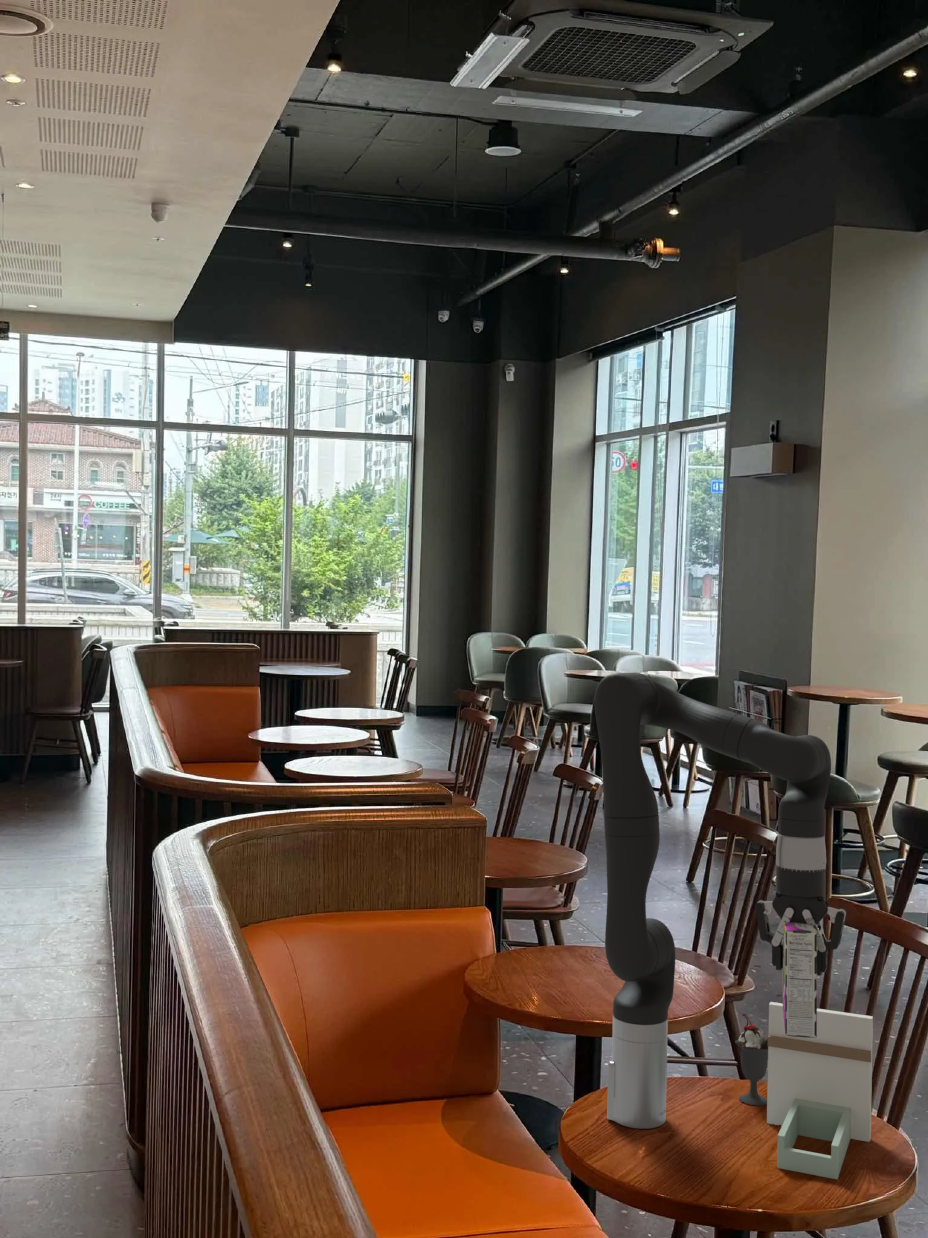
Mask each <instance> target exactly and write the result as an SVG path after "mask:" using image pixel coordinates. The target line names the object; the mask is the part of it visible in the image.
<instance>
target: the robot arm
mask: <svg viewBox="0 0 928 1238" xmlns="http://www.w3.org/2000/svg"><path fill="white" fill-rule="evenodd" d="M593 701H594V702H593V703H594V714H595V720H596V721H595V722H596V726H597V734H598V740H599V747H600V756H601V757H600V758H601V773H602V774H601V775H602V789H603V792H602V794H603V821H604V823H603V825H604V827H603V828H604V841H605V854H606V855H605V856H606V857H605V858H606V889H607V890H606V892H607V895H606V897H607V898H606V915H605V916H606V918H605V934H604V935H605V937H604V949H605V957H606V960H607V961H606V962H607V963H608V967H609V968H610V969H611V972H612V973H613V974H614V976H616V977H617V978H619V979H620V980H621V981H624V984H622V987H621V988H620V990H619V991H618V992H617V994H616V995H615V997H614V999H613V1001H612V1034H611V1035H612V1038H611V1040H612V1042H611V1043H612V1046H611V1047H612V1048H611V1059H610V1060H609V1061H608V1065H607V1097H606V1098H607V1102H606V1104H607V1105H606V1108H607V1109H606V1112H607V1113H606V1119H607V1120H609V1121H613V1122H615V1123H616V1124H619V1125H621V1126H624V1127H627V1128H631V1129H632V1128H633V1129H640V1130H641V1129H654V1128H658V1127H661V1126H663V1125H664V1124H665V1123H666V1121H667V1118H666V1117H667V1086H668V1085H667V1082H668V1081H667V1079H668V1077H667V1076H668V1073H667V1072H668V1070H667V1069H668V1024H669V1008H670V1006H671V1003H672V1000H673V997H674V990H675V988H674V987H675V973H676V946H675V940H674V937H673V934H672V933H671V931H670V929H669V928H668V926H667V925H666V924H665V923H664V922H662V921H661V920H659V919H657V918H652V917H651V918H650V917H647V911H646V909H647V905H646V902H647V892H648V886H649V882H650V880H651V876H652V873H653V870H654V868H655V864H656V862H657V861H656V860H657V858H658V853H659V848H660V841H661V840H660V838H661V837H660V836H661V835H660V817H659V816H660V815H659V805H658V799H657V797H656V793H655V791H654V787H653V785H652V783H651V780H650V778H649V775H648V774H647V771H646V768H645V765H644V761H643V757H642V752H641V748H642V747H641V726H642V725H643V726H644V725H645V726H651V727H657V728H663V729H668V730H672V731H675V732H677V733H680V734H682V735H684V736H687V737H689V738H690V739H691V740H693V741H695V742H696V743H698V744H699V745H701V746H704V747H705V748H707V749H710V751H714V752H717V753H718V754H722V755H724V756H728V757H730V758H732V759H736V760H737V761H738V760H739V761H741V762H744V763H748V764H751V765H753V766H755V767H756V768H758V769H759V770H762V771H764V772H766V773H768V774H769V775H772V776H774V777H776V778H778V779H781V780H783V781H786V791H785V794H784V796H783V797H782V798H781V800H780V801H779V804H778V805H779V806H778V812H777V813H778V817H777V825H778V826H777V832H778V833H777V842H776V849H775V850H776V851H775V855H776V856H775V896H774V898H773V900H764V899H760V900H759V901H757V902H756V903H755V905H754V906H755V907H754V908H755V915H756V920H757V927H758V933H759V938H760V940H761V941H763V942H767V943H769V944H770V945H771V964H772V966H773V967H775V970H776V971H783V935H784V924H785V923H789V922H793V923H803V924H807V925H810V926H815V927H816V930H817V977H818V976H822V975H823V974H824V973H826V971H827V968H828V951H830V950H831V951H832V950H837V949H838V948H839V946H840V945H841V941H842V937H843V931H844V926H845V921H846V917H847V910H846V909H845V908H840V909H838V908H835V907H831V906H829V904H828V902H827V899H826V880H827V879H826V877H827V876H826V875H827V874H826V871H827V870H826V869H827V849H826V841H825V837H826V836H825V820H826V819H825V818H826V817H825V816H826V815H825V804H826V801H827V800H826V799H827V796H828V791H829V784H830V781H831V780H830V779H831V772H832V758H831V753H830V749H829V747H828V745H827V744H826V743H825V741H824V740H823V739H821V737H818V736H815V735H812V734H803V735H797V736H793V735H789V734H785V733H784V732H780V731H777V730H775V729H771V727H770V726H769V725H768V724H766V723H765V722H763V721H760V720H757V719H755V718H752V717H748V716H746V715H742V714H739V713H736V712H735V711H734V712H733V711H730V710H728V709H724V708H720V707H717V706H714V705H710V704H707V703H704V702H702V701H698V700H697V699H694V698H692V697H688V696H687V695H684V694H681V693H679V692H677V691H675V690H674V689H672V688H670V687H668V686H666V685H664V684H662V683H660V682H658V681H656V680H654V679H653V678H651V677H649V676H647V675H645V674H644V673H640V672H614V673H610V674H607V675H606V676H604V677H603V678H602V679H601V680H600V681H599V683H598V685H597V686H596V689H595V693H594V700H593ZM772 909H774V911H775V912H776V915H777V916H778V917H779V919H780V921H779V924H778V926H777V928H776V931H775V933H773V932H771V927H770V926H771V925H770V922H769V921H770V920H769V915H770V914H771V912H772ZM826 915H829V917H830V919H829V920H830V922H831V923H832V924H833V927H832V932H831V938H830V939H827V938H826V935H825V933H824V928H823V926H822V924H821V922H822V920H823V919H824V917H825V916H826Z"/></svg>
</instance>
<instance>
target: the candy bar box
mask: <svg viewBox="0 0 928 1238" xmlns="http://www.w3.org/2000/svg"><path fill="white" fill-rule="evenodd" d="M782 944H783V968H782V1004H783V1017H784V1026H785V1034H786V1035H787V1036H792V1037H807V1038H817V1008H818V975H817V950H818V947H817V930H816V927H815V926H810V925H807V924H803V923H793V922H789V923H785V924H784V935H783V940H782Z"/></svg>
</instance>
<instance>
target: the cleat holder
mask: <svg viewBox="0 0 928 1238" xmlns="http://www.w3.org/2000/svg"><path fill="white" fill-rule="evenodd" d="M873 1025H874V1017H873V1015H872V1016H871V1015H866V1014H865V1015H864V1014H858V1013H851V1012H845V1011H844V1012H843V1011H838V1010H830V1009H823V1008H818V1007H817V1038H807V1037H792V1036H787V1035H786V1034H785V1026H784V1017H783V1002H782V1003H780V1002H776V1001H775V1002H773V1001H770V1002H769V1004H768V1035H767V1038H768V1045H767V1046H768V1063H767V1090H766V1091H767V1094H766V1095H767V1097H766V1099H767V1104H766V1124H769V1125H773V1124H774V1126H779V1125H781V1126H780V1129H779V1132H778V1134H777V1147H776V1149H777V1153H776V1154H777V1155H776V1156H777V1157H776V1160H777V1161H776V1168H777V1169H782V1170H785V1171H792V1172H798V1173H801V1174H802V1173H803V1174H807V1175H811V1176H812V1175H813V1176H817V1177H821V1178H822V1177H823V1178H828V1179H831V1180H836V1181H837V1180H839V1177H840V1173H841V1170H842V1167H843V1164H844V1160H845V1158H846V1154H847V1151H848V1150H847V1149H848V1147H849V1144H850V1142H851V1140H857V1141H861V1142H867V1143H870V1142H871V1137H872V1135H871V1134H872V1128H871V1127H872V1093H873V1091H872V1088H873V1087H872V1084H873V1083H872V1082H873V1079H872V1078H873V1033H874V1031H873V1029H874V1026H873ZM798 1136H802V1137H806V1138H812V1139H816V1140H822V1141H823V1140H824V1141H827V1142H831V1146H830V1151H831V1152H830V1153H831V1154H830V1155H829V1154H824V1153H818V1152H812V1151H810V1150H809V1151H807V1150H803V1149H796V1148H794V1145H795V1144H796V1141H797V1138H798Z"/></svg>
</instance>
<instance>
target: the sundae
mask: <svg viewBox="0 0 928 1238" xmlns="http://www.w3.org/2000/svg"><path fill="white" fill-rule="evenodd" d="M741 1014H742V1016H743V1017H744V1018H745V1019H746V1025H744V1026H743V1032H741V1033H740V1035H739V1037H738V1039H737V1040H735V1042H734V1043H735V1045H736V1046H737V1047H738V1049H739V1055H740V1065H741V1071H742V1073H743V1075H744V1076H745V1078H746V1079H748V1080H749V1082H750V1083H749V1085H750V1086H749V1087H750V1088H749V1092H748V1093H746V1094H741V1095H740V1096H739V1098H738V1100H739V1099H740V1100H739V1101H740V1102H741V1103H742V1102H744V1103H745V1105H747V1104H751V1105H750V1106H752V1105H756V1106H755V1107H761V1106H765V1105H767V1097H765V1096H763V1095H759V1093H758V1082H760V1080H763V1078H764V1077H766V1073H767V1070H768V1046H767V1045H768V1037H766V1036H765V1032H764V1031H763V1030H762V1029H761V1028H759V1027H757V1026H756V1025H754V1024H752V1022H751V1020H750V1018H749V1017H748V1016H747V1014H746V1013H741ZM744 1103H743V1104H744Z"/></svg>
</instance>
